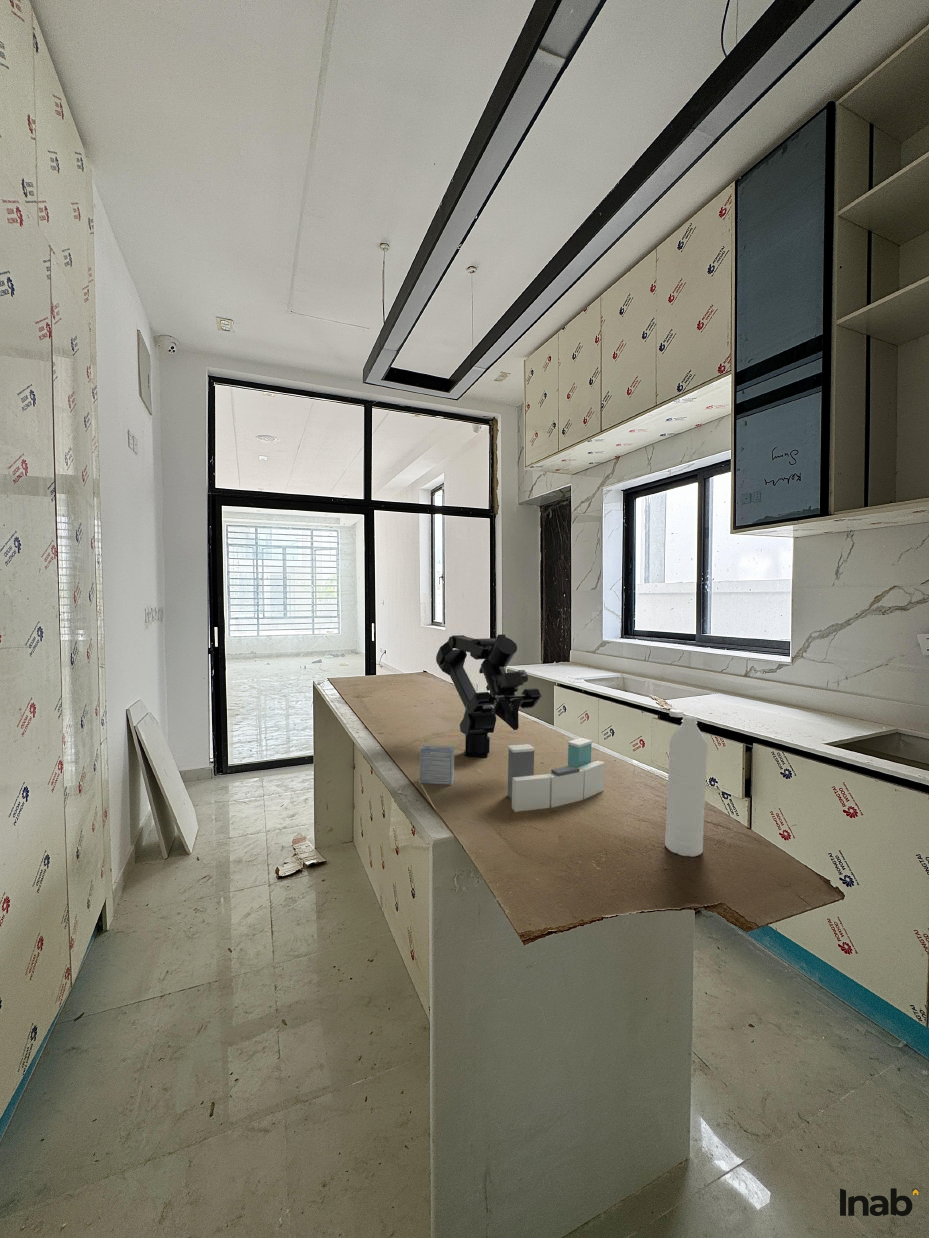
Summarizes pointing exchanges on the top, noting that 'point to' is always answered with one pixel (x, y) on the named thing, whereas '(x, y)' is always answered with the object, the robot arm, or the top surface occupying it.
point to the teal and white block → (579, 752)
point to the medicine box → (437, 764)
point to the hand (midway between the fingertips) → (516, 729)
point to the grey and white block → (519, 763)
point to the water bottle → (686, 788)
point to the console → (557, 787)
